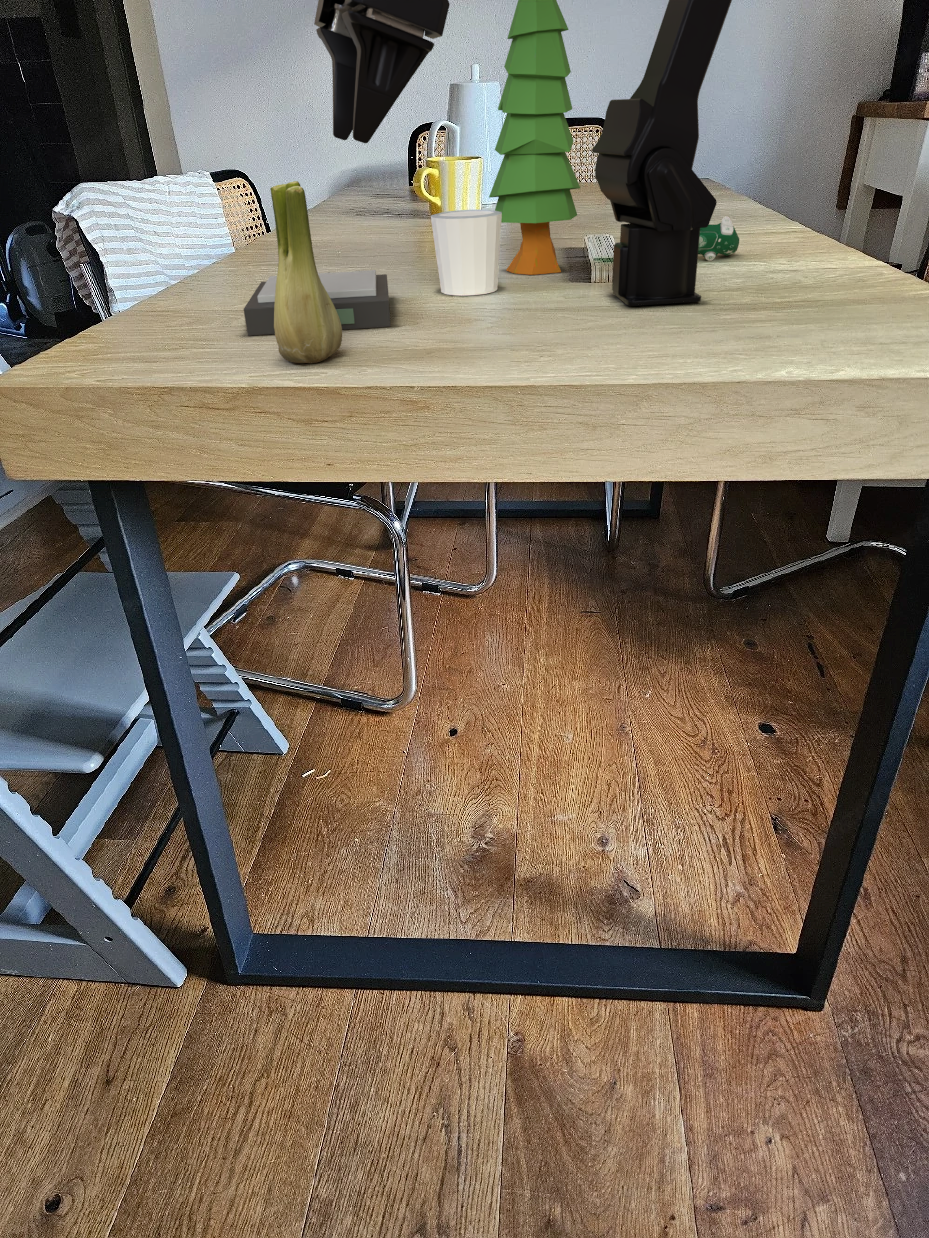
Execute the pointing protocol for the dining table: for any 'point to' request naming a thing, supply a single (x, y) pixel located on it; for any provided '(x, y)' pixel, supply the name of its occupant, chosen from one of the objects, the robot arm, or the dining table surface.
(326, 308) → the fennel bulb
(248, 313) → the kitchen scale
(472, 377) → the dining table surface
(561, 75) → the decorative tree
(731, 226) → the green toy car
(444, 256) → the white cup
